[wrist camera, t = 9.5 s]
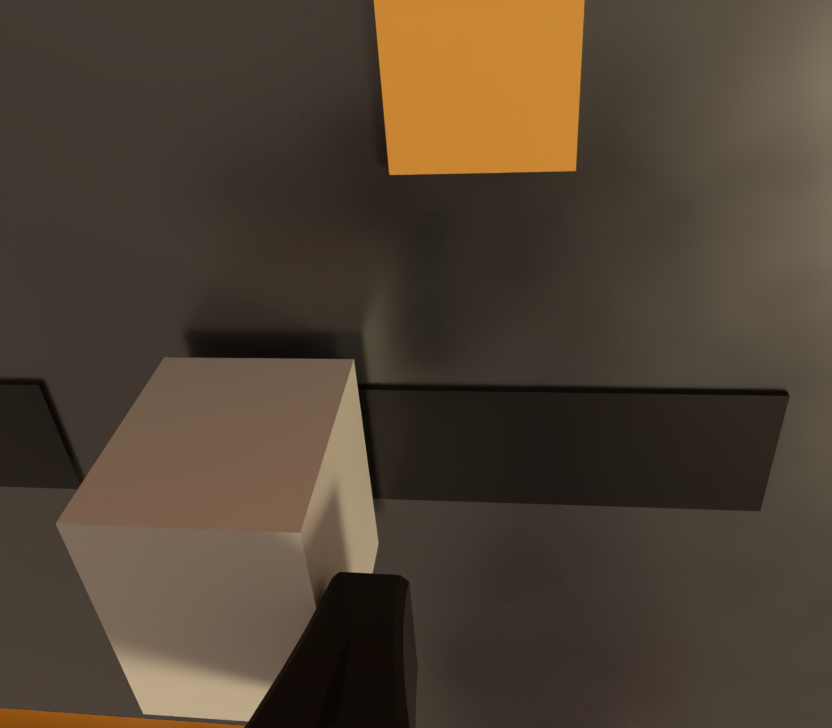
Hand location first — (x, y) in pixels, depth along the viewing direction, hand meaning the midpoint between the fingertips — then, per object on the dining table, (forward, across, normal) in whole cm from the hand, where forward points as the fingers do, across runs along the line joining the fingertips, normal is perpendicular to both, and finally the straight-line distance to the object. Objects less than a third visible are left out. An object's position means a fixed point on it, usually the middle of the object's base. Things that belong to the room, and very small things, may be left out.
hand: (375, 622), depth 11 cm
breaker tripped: (+3, +2, 0) cm, 4 cm away
